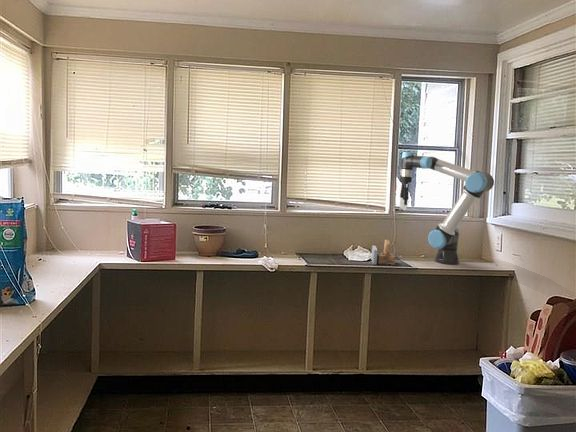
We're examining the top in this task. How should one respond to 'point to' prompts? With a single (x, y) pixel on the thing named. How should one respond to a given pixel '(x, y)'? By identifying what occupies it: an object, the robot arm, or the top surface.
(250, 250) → the top surface
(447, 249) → the robot arm
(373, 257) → the backstop
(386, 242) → the dowel
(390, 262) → the block
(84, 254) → the top surface
